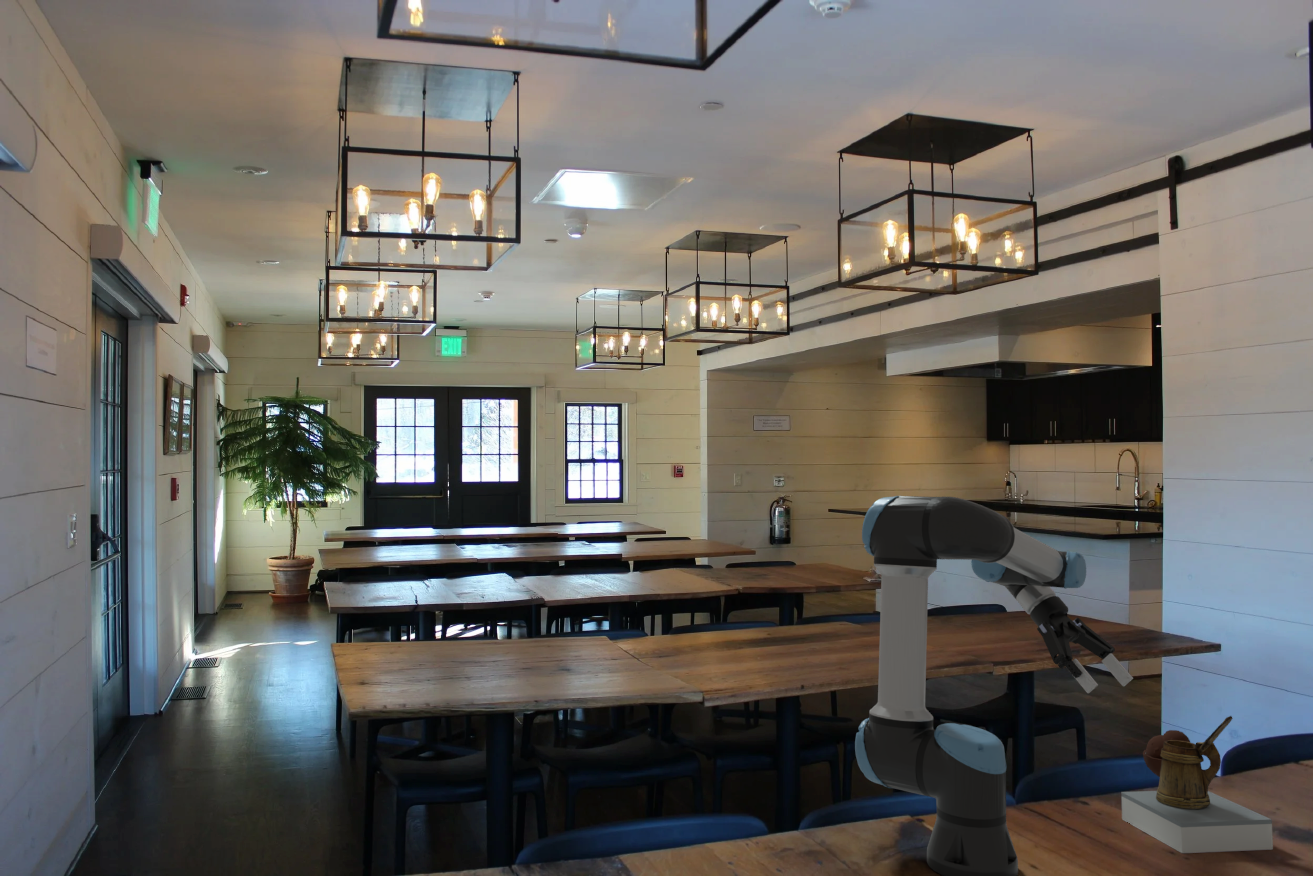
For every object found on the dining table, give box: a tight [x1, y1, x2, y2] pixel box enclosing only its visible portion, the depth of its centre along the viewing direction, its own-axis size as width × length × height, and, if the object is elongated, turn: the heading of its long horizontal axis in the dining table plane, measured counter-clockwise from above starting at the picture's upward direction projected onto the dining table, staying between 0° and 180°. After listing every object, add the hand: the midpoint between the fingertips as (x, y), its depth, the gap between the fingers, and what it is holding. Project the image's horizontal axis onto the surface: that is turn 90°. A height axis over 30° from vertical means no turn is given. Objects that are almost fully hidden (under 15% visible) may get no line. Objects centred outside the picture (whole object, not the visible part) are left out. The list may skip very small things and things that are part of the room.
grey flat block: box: [1120, 790, 1274, 854], centre depth 181 cm, size 18×18×5 cm
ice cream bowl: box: [1142, 729, 1191, 778], centre depth 201 cm, size 11×11×15 cm
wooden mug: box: [1156, 715, 1233, 809], centre depth 182 cm, size 9×14×18 cm, turn 47°
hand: (1111, 686), depth 194 cm, fingers open, 13 cm apart
